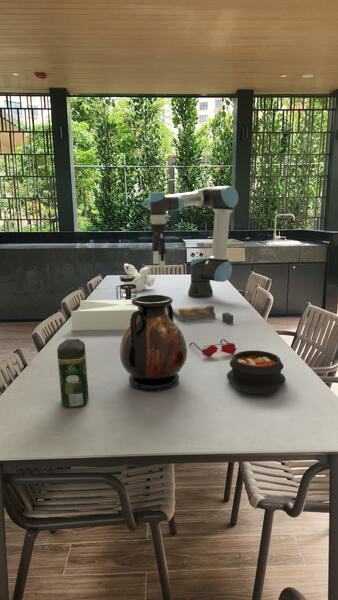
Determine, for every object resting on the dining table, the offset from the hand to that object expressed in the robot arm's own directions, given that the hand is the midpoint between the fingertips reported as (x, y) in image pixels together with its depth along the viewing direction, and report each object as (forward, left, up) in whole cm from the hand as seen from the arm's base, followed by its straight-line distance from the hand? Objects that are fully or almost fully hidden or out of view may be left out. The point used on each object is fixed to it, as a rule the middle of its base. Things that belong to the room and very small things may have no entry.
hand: (159, 265), depth 227 cm
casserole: (-5, +97, -25) cm, 100 cm away
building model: (+22, +13, -25) cm, 36 cm away
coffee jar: (+52, +92, -25) cm, 109 cm away
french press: (+13, -18, -25) cm, 34 cm away
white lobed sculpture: (-4, -63, -25) cm, 68 cm away
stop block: (-25, +30, -25) cm, 46 cm away
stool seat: (-14, +13, -25) cm, 31 cm away
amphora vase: (+26, +86, -25) cm, 94 cm away
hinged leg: (-13, +20, -22) cm, 32 cm away
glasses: (-4, +63, -25) cm, 68 cm away
